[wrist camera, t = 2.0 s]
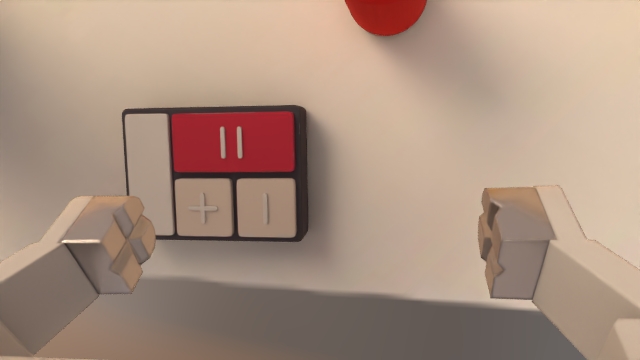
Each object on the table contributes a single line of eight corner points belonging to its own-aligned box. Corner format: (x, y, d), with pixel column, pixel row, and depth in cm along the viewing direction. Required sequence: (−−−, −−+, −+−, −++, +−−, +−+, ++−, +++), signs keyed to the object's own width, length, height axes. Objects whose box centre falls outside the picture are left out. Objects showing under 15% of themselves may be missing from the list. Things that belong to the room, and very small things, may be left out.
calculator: (301, 244, 36) (123, 241, 38) (309, 232, 40) (149, 230, 42) (298, 104, 35) (115, 108, 37) (307, 106, 39) (142, 110, 41)
